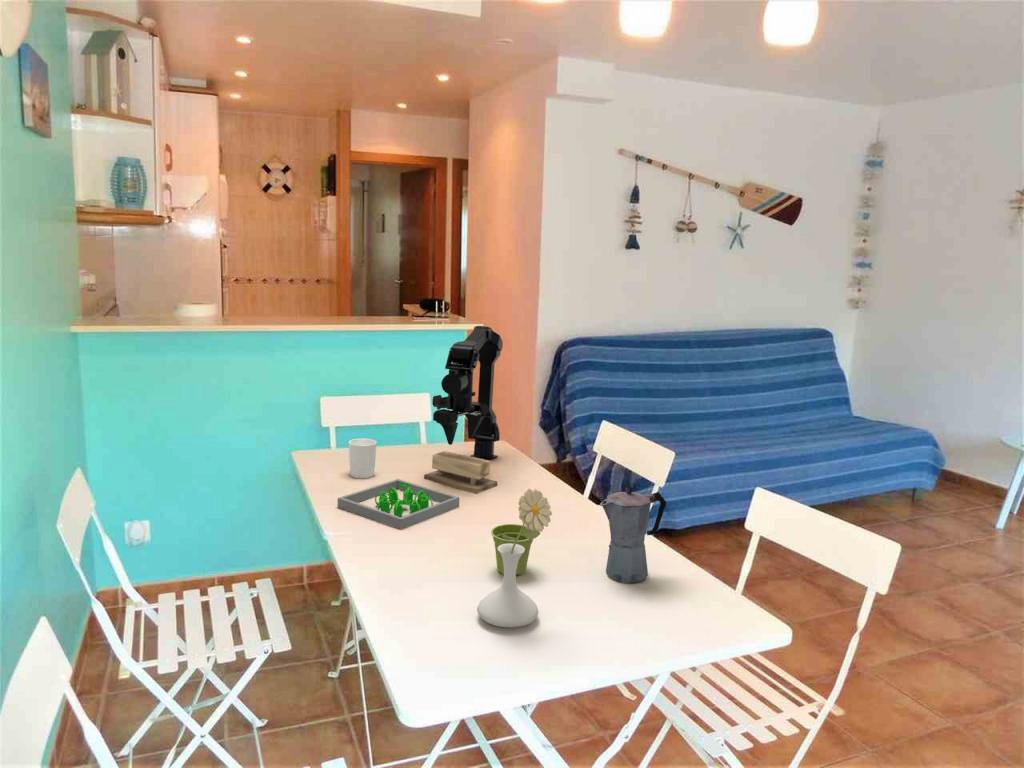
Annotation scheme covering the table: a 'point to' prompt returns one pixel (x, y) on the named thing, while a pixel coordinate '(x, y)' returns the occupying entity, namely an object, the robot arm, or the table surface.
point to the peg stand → (460, 481)
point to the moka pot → (629, 533)
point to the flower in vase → (508, 599)
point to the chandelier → (406, 500)
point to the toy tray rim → (353, 506)
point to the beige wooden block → (461, 464)
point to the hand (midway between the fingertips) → (460, 441)
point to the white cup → (362, 457)
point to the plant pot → (511, 531)
